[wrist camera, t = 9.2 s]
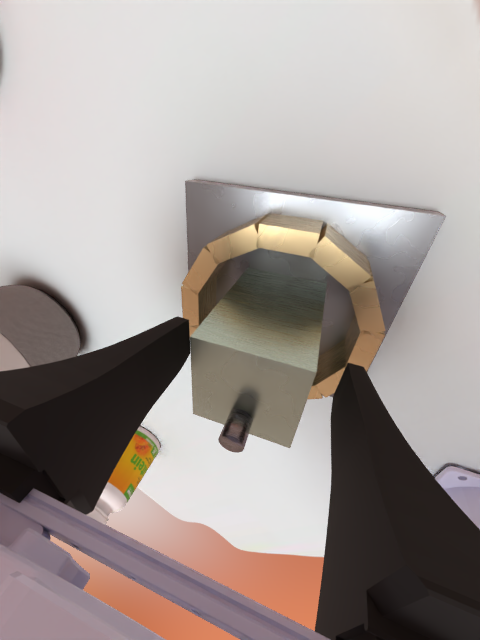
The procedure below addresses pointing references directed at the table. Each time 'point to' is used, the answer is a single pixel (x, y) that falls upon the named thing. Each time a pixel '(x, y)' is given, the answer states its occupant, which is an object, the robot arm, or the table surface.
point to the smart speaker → (34, 329)
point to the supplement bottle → (126, 474)
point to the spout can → (258, 357)
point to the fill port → (308, 260)
